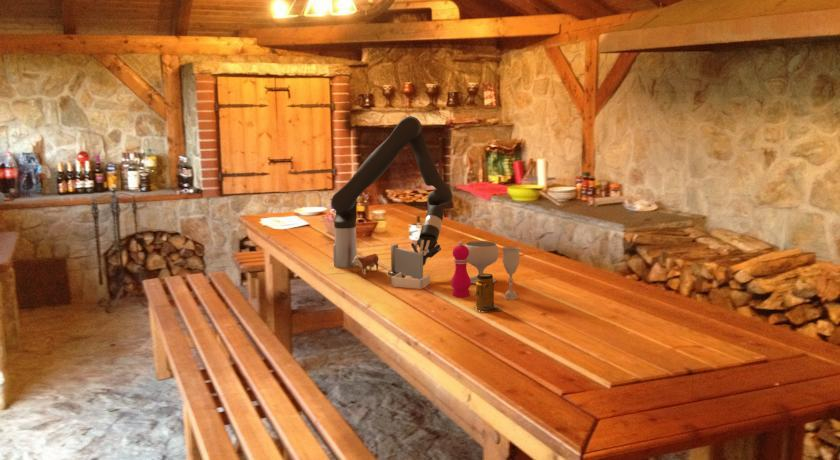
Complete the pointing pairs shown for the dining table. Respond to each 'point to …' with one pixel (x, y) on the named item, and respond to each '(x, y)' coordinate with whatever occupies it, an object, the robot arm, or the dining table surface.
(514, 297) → the chalice
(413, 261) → the paddle
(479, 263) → the chalice
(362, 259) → the bull figurine
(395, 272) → the lever base
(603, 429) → the dining table surface
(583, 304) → the dining table surface
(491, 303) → the condiment
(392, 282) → the pocket
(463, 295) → the pepper mill
